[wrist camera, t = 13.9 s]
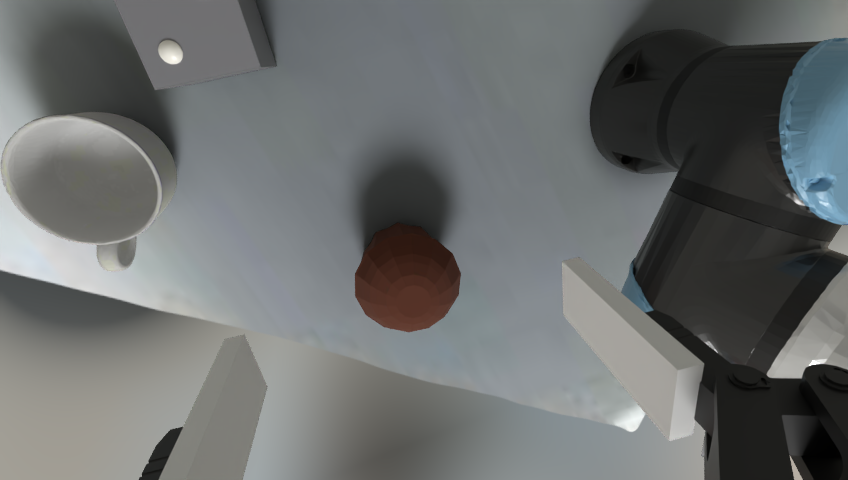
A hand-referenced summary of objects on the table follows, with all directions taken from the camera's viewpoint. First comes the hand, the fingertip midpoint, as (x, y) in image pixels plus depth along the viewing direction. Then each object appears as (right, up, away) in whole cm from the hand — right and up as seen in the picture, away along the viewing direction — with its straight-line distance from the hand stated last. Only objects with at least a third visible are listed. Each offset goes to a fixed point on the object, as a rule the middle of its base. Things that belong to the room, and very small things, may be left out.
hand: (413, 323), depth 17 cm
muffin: (-2, +1, +32) cm, 32 cm away
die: (-18, +22, +20) cm, 35 cm away
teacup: (-29, +10, +24) cm, 38 cm away
